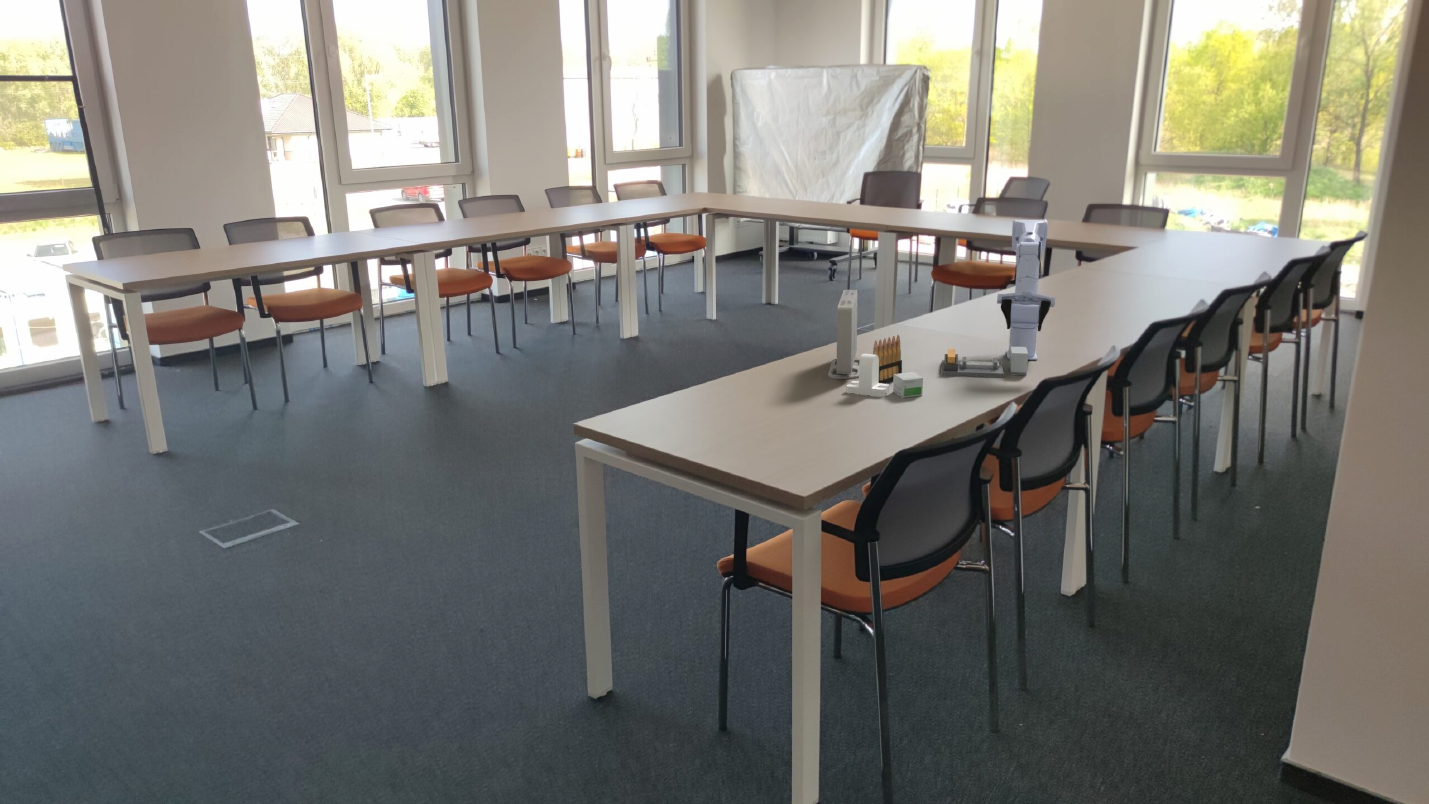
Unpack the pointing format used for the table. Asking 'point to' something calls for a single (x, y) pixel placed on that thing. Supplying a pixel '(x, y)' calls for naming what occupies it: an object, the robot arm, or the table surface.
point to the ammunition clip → (888, 359)
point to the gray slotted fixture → (969, 364)
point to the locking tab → (951, 356)
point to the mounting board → (974, 371)
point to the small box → (908, 384)
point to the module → (1018, 360)
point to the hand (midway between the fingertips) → (1024, 328)
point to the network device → (846, 337)
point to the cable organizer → (868, 378)
